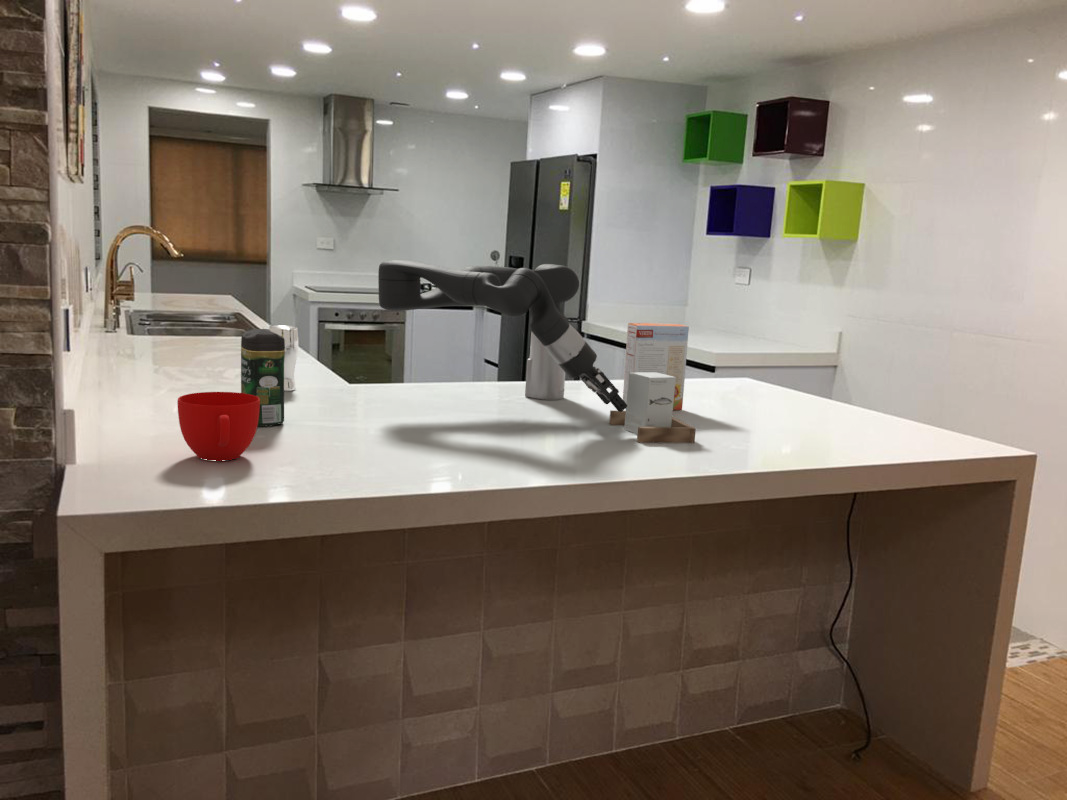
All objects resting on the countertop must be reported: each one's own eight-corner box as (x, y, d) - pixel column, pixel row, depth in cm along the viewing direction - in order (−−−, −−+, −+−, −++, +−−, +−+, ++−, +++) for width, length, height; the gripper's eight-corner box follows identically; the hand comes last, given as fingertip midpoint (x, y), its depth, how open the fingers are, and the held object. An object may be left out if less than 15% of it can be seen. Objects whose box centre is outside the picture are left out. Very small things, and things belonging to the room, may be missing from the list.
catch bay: (639, 442, 185) (640, 428, 185) (609, 423, 202) (610, 410, 202) (694, 442, 188) (695, 428, 188) (660, 424, 205) (661, 411, 205)
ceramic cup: (181, 474, 141) (180, 411, 140) (175, 449, 157) (175, 392, 155) (267, 471, 147) (268, 410, 145) (254, 446, 162) (254, 391, 160)
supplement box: (643, 437, 191) (648, 377, 189) (623, 429, 197) (627, 371, 195) (671, 435, 195) (677, 376, 192) (650, 428, 201) (655, 371, 199)
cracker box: (671, 406, 230) (679, 323, 226) (682, 411, 224) (690, 326, 220) (620, 406, 225) (627, 321, 221) (630, 411, 219) (637, 324, 216)
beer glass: (293, 392, 216) (294, 329, 213) (263, 390, 216) (264, 327, 213) (300, 387, 222) (301, 326, 220) (272, 386, 222) (273, 324, 220)
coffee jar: (236, 418, 184) (237, 326, 181) (276, 416, 188) (277, 326, 185) (246, 428, 176) (247, 332, 172) (288, 426, 179) (289, 332, 176)
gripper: (547, 358, 198) (593, 410, 203) (567, 367, 185) (615, 424, 190) (572, 334, 199) (617, 387, 204) (593, 342, 185) (641, 399, 190)
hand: (616, 405), depth 197 cm, fingers open, 8 cm apart
